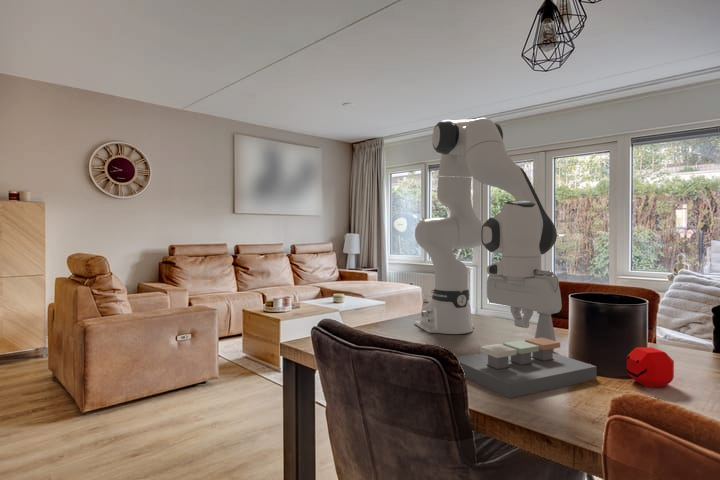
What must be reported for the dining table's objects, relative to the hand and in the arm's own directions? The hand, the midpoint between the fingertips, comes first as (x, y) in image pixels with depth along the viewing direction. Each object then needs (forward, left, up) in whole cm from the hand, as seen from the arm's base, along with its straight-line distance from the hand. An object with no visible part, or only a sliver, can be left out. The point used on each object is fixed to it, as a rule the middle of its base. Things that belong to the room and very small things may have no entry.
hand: (521, 326), depth 101 cm
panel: (0, 0, -12) cm, 12 cm away
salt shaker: (-12, +21, -12) cm, 27 cm away
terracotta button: (0, +7, -8) cm, 11 cm away
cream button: (0, -7, -8) cm, 11 cm away
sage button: (0, 0, -9) cm, 9 cm away
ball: (+17, +21, -12) cm, 29 cm away
